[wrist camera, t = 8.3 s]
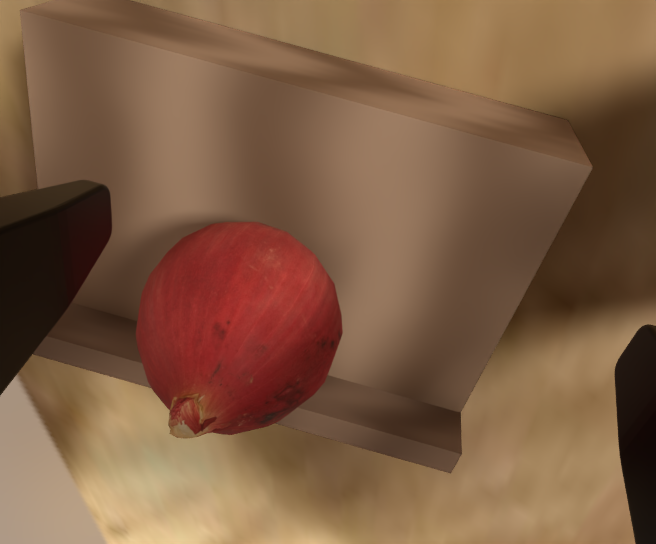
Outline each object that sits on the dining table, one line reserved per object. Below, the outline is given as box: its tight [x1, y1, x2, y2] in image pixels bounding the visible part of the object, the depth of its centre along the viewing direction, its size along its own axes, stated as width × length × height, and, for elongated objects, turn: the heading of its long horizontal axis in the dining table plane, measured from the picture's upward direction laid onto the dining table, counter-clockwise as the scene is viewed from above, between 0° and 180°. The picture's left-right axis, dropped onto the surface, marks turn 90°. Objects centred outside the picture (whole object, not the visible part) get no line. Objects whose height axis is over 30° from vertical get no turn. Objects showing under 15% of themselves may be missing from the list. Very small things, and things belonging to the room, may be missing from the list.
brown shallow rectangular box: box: [20, 0, 593, 473], centre depth 20 cm, size 17×12×6 cm
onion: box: [136, 222, 343, 438], centre depth 16 cm, size 6×6×8 cm
